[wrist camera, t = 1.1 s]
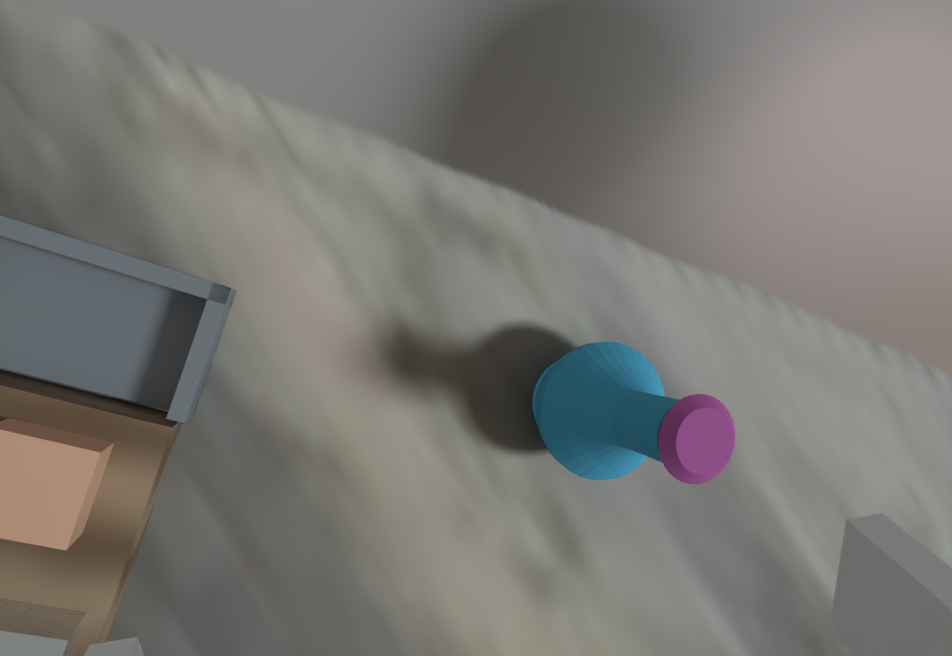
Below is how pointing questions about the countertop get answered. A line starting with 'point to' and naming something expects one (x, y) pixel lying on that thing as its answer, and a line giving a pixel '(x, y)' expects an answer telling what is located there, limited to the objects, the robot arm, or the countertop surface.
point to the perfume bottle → (627, 418)
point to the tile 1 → (47, 482)
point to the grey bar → (38, 629)
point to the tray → (106, 319)
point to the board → (114, 508)
